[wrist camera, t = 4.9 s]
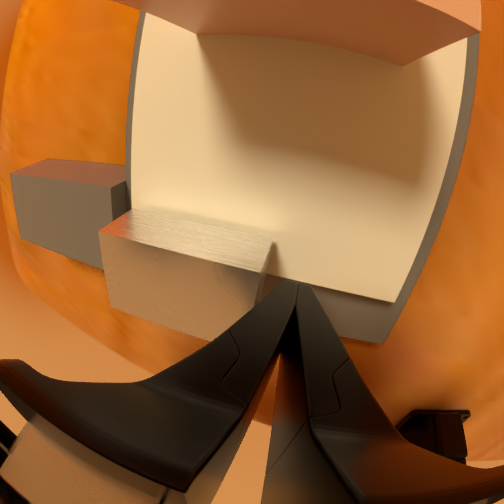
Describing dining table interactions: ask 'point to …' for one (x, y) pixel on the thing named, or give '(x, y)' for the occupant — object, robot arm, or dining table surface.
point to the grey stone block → (182, 271)
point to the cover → (302, 126)
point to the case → (119, 202)
